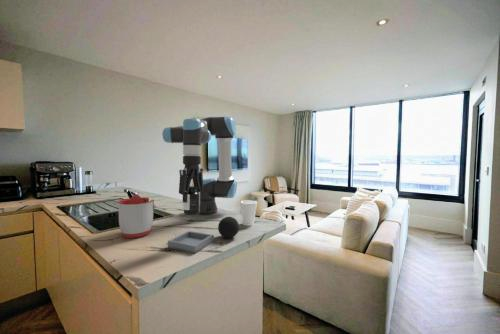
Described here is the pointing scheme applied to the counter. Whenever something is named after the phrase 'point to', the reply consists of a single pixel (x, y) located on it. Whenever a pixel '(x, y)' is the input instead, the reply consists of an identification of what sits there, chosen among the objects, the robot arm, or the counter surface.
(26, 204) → the counter surface
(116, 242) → the counter surface
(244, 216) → the foam cup
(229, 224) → the speaker
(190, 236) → the tray
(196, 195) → the supplement bottle
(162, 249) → the counter surface
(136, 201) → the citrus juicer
